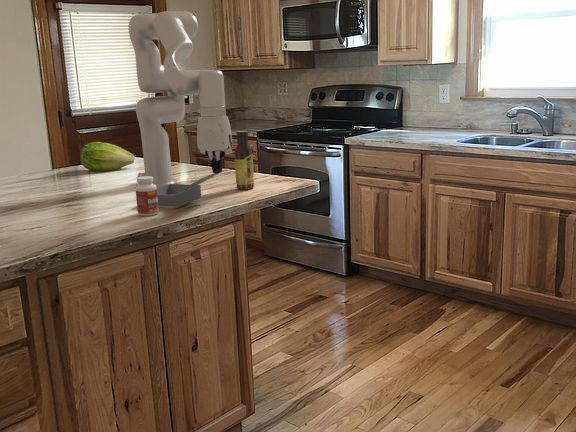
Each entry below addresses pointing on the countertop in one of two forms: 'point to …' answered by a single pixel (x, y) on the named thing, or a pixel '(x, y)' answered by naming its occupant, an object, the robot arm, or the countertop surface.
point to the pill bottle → (146, 196)
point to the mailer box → (177, 195)
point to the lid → (200, 181)
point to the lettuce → (105, 157)
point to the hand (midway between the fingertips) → (217, 172)
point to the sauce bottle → (243, 162)
